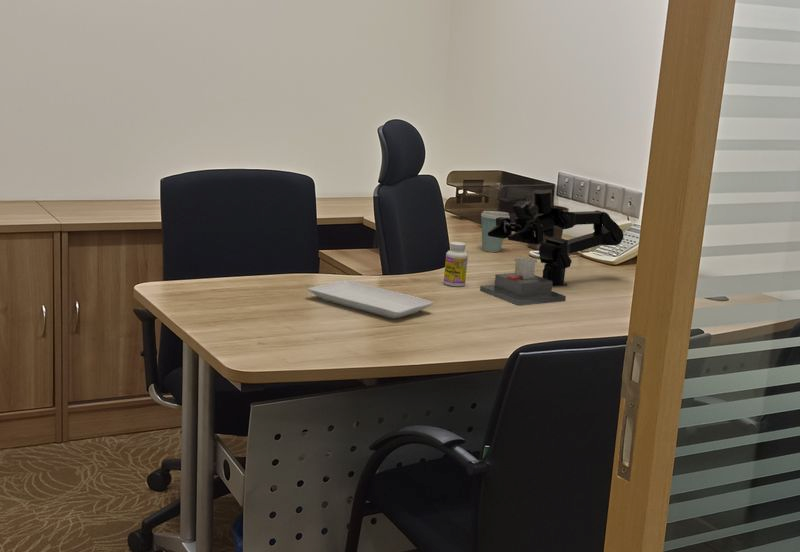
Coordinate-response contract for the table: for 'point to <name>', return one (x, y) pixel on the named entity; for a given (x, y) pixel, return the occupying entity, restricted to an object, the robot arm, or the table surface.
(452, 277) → the supplement bottle
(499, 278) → the red button base
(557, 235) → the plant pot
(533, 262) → the column
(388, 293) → the tray
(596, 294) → the table surface
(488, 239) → the disposable coffee cup
